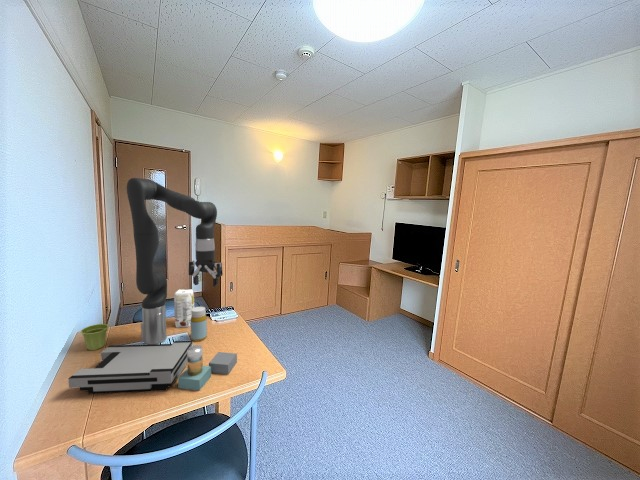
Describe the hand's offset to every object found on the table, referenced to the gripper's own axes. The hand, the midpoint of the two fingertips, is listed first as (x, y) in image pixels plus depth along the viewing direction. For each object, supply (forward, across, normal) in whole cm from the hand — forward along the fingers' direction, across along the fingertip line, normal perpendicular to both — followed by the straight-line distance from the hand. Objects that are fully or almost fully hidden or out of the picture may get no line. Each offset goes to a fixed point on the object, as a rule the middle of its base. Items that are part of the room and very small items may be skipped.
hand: (205, 285), depth 115 cm
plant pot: (+30, -49, -6) cm, 58 cm away
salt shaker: (+26, +7, -21) cm, 34 cm away
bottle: (+30, -9, +9) cm, 33 cm away
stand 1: (+30, +7, -21) cm, 37 cm away
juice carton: (+30, -24, +21) cm, 44 cm away
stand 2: (+30, +13, -11) cm, 35 cm away
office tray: (+31, -16, -21) cm, 40 cm away
